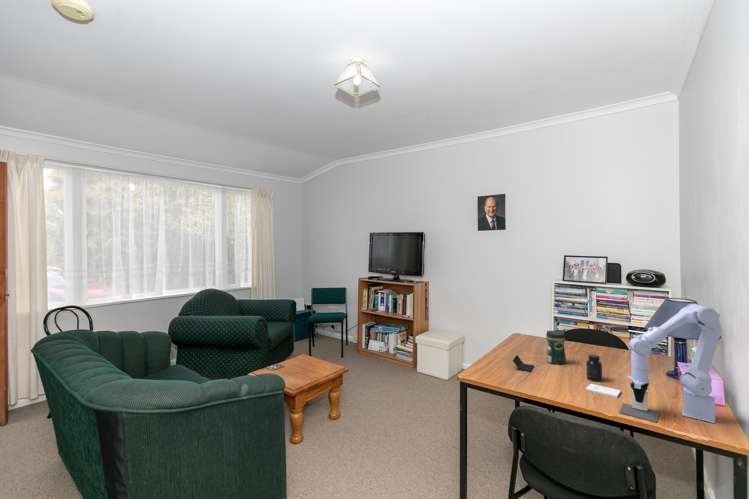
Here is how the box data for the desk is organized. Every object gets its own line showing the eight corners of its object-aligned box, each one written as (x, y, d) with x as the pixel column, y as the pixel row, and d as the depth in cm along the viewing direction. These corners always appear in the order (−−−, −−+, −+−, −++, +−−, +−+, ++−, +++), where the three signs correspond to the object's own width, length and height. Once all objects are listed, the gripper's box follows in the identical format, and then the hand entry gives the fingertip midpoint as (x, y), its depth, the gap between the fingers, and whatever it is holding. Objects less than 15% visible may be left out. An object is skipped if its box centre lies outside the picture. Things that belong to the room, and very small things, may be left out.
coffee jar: (560, 360, 209) (560, 329, 209) (567, 364, 201) (567, 332, 201) (544, 360, 209) (544, 329, 209) (550, 365, 202) (550, 332, 201)
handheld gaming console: (534, 370, 190) (522, 353, 193) (523, 377, 191) (511, 360, 195) (534, 366, 200) (522, 351, 203) (524, 373, 202) (512, 357, 205)
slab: (647, 409, 145) (647, 392, 145) (647, 411, 143) (647, 394, 143) (632, 405, 148) (632, 388, 148) (632, 407, 146) (632, 390, 146)
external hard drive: (617, 399, 158) (585, 391, 167) (621, 393, 163) (590, 386, 172) (617, 395, 158) (585, 388, 167) (621, 390, 163) (590, 382, 172)
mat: (658, 412, 144) (658, 411, 144) (656, 422, 136) (656, 421, 136) (623, 403, 152) (623, 403, 152) (619, 413, 144) (619, 412, 144)
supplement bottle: (592, 376, 184) (592, 353, 184) (605, 380, 178) (605, 356, 178) (583, 378, 182) (583, 354, 181) (595, 382, 175) (595, 358, 175)
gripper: (630, 361, 154) (630, 392, 154) (625, 370, 143) (625, 403, 143) (650, 365, 149) (650, 397, 149) (647, 374, 138) (647, 409, 138)
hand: (639, 400), depth 146 cm, fingers closed on slab, 3 cm apart
